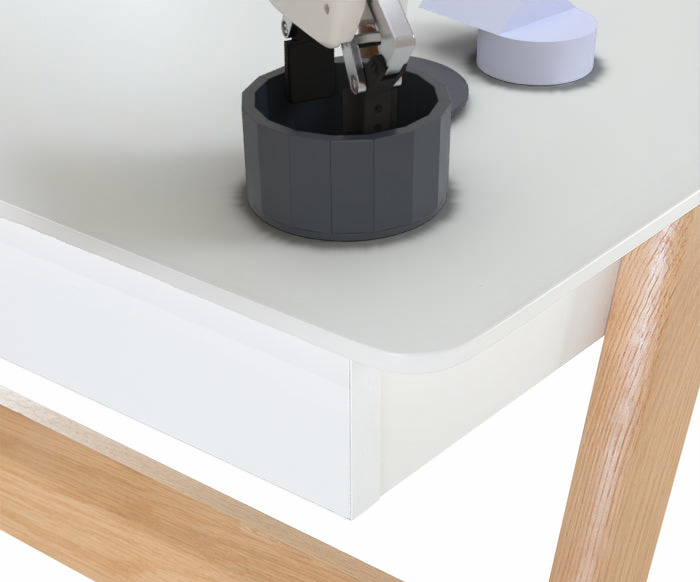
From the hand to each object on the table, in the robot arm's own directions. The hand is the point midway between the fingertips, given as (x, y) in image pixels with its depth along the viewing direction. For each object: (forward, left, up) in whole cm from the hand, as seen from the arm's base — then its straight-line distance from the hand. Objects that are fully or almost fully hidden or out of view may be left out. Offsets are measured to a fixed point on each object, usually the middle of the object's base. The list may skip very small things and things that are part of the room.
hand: (338, 122), depth 75 cm
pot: (+1, 0, -5) cm, 5 cm away
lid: (+9, +12, -4) cm, 15 cm away
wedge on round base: (+23, +15, -5) cm, 28 cm away
